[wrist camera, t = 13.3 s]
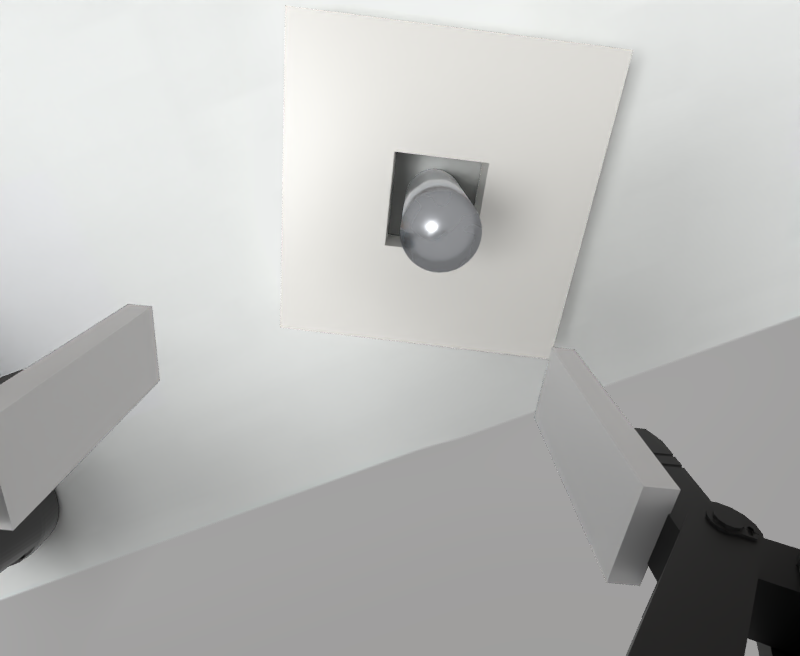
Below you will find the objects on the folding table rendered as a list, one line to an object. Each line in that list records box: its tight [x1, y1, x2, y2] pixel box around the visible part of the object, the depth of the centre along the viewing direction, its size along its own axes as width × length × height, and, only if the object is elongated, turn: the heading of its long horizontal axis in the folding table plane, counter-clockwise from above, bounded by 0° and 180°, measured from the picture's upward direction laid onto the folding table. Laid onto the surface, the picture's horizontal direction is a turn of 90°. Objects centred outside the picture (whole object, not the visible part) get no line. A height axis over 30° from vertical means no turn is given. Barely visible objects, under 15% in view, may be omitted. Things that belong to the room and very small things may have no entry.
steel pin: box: [400, 169, 482, 273], centre depth 29 cm, size 4×4×12 cm
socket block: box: [280, 5, 633, 359], centre depth 33 cm, size 20×20×4 cm
